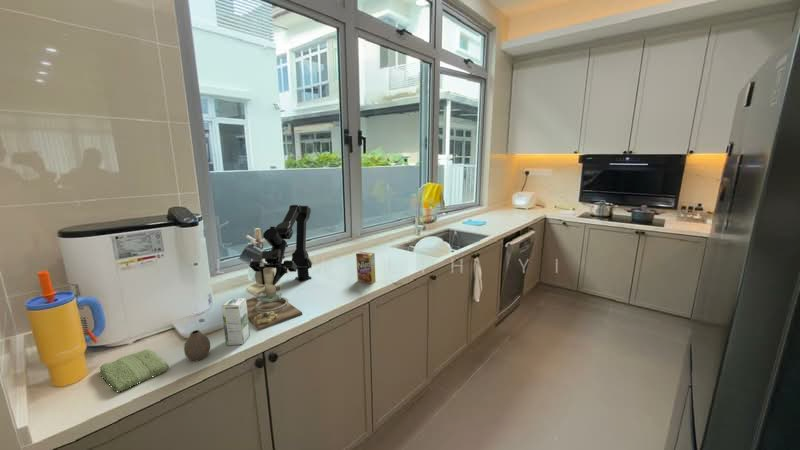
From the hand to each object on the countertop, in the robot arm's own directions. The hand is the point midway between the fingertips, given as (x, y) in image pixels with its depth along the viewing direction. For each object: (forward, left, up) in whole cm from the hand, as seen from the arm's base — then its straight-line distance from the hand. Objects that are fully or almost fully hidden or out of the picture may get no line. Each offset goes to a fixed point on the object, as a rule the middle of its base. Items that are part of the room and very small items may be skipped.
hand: (268, 284), depth 126 cm
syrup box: (+15, -17, -12) cm, 25 cm away
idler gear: (-1, +1, -7) cm, 7 cm away
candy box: (+3, +48, -12) cm, 49 cm away
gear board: (-2, -1, -11) cm, 12 cm away
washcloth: (+10, -44, -12) cm, 47 cm away
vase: (+16, -29, -12) cm, 35 cm away
